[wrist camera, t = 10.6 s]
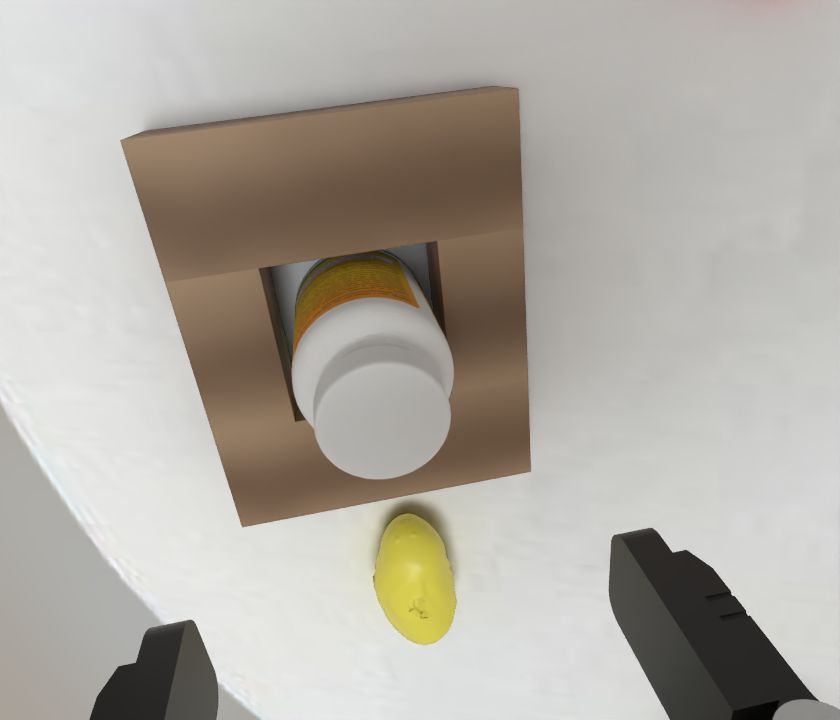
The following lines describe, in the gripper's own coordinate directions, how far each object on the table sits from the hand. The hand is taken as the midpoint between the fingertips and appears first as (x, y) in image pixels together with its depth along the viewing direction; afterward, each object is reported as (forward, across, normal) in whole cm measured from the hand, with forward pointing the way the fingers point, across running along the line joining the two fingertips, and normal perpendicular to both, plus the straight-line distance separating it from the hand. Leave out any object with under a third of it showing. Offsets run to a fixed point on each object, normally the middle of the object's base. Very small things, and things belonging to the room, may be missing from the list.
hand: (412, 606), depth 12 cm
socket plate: (+16, 0, 0) cm, 16 cm away
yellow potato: (+16, -1, +15) cm, 22 cm away
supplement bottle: (+16, 0, 0) cm, 16 cm away
